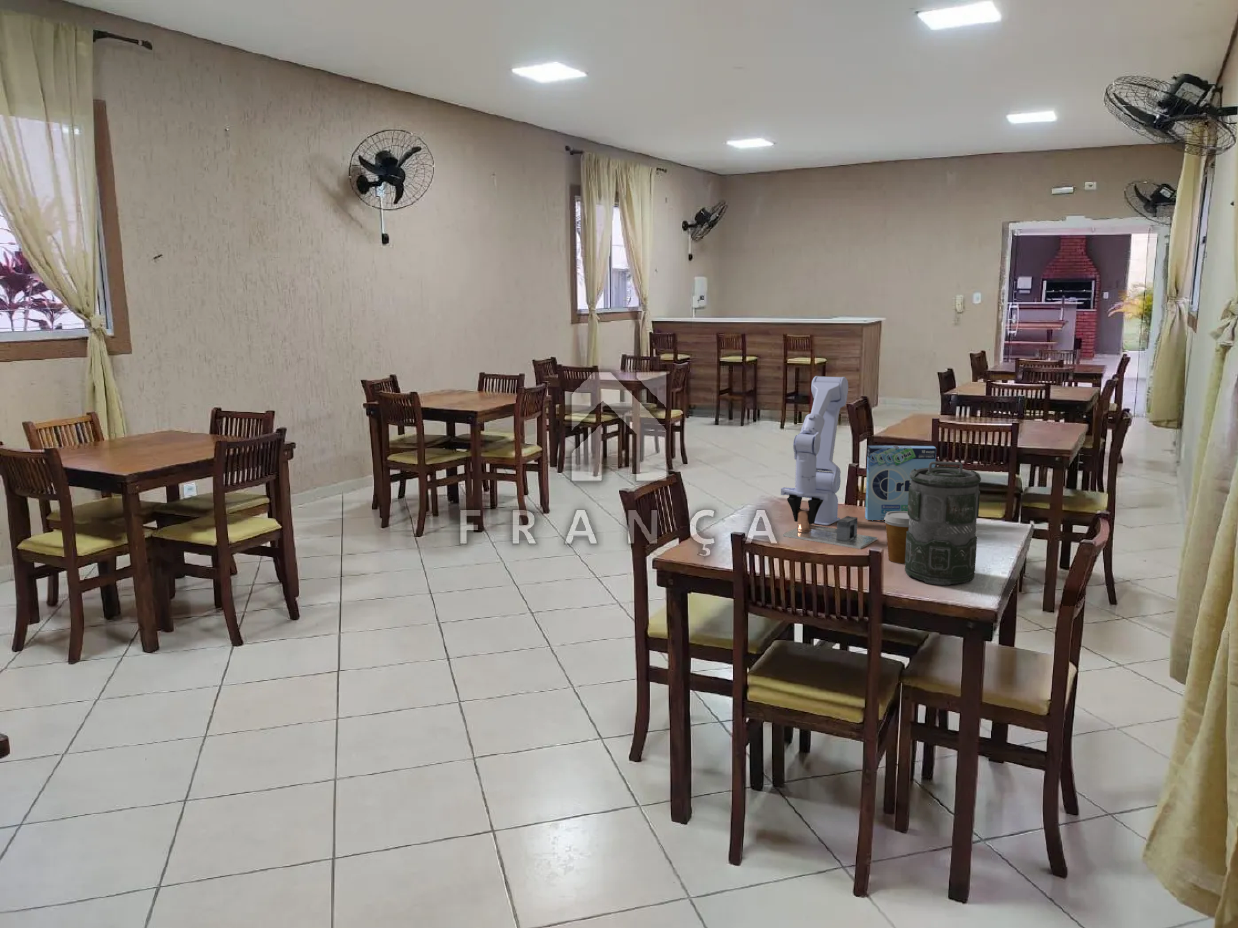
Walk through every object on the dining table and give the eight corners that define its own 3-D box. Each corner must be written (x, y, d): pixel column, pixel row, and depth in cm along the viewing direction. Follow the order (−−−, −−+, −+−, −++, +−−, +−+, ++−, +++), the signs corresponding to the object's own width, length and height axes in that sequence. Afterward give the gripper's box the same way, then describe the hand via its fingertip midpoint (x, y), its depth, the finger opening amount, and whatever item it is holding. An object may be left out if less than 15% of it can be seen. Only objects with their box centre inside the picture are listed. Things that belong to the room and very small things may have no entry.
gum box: (929, 519, 262) (933, 445, 258) (933, 523, 257) (937, 448, 253) (864, 517, 265) (867, 444, 261) (866, 521, 260) (869, 447, 256)
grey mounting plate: (801, 527, 253) (802, 507, 252) (877, 539, 239) (878, 518, 238) (783, 536, 244) (783, 515, 242) (860, 548, 230) (861, 526, 229)
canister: (909, 584, 199) (915, 467, 194) (900, 565, 215) (905, 455, 210) (981, 588, 196) (989, 468, 192) (966, 568, 212) (973, 457, 207)
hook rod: (794, 530, 245) (795, 510, 244) (800, 528, 249) (801, 507, 248) (844, 538, 236) (845, 517, 235) (850, 535, 240) (850, 514, 238)
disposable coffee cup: (920, 556, 222) (923, 511, 220) (920, 567, 213) (923, 520, 211) (882, 553, 225) (884, 509, 223) (881, 563, 216) (883, 517, 214)
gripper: (776, 475, 244) (775, 521, 247) (823, 480, 236) (822, 528, 238) (787, 471, 250) (786, 516, 252) (834, 476, 241) (832, 523, 243)
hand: (804, 522), depth 245 cm, fingers closed on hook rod, 4 cm apart
